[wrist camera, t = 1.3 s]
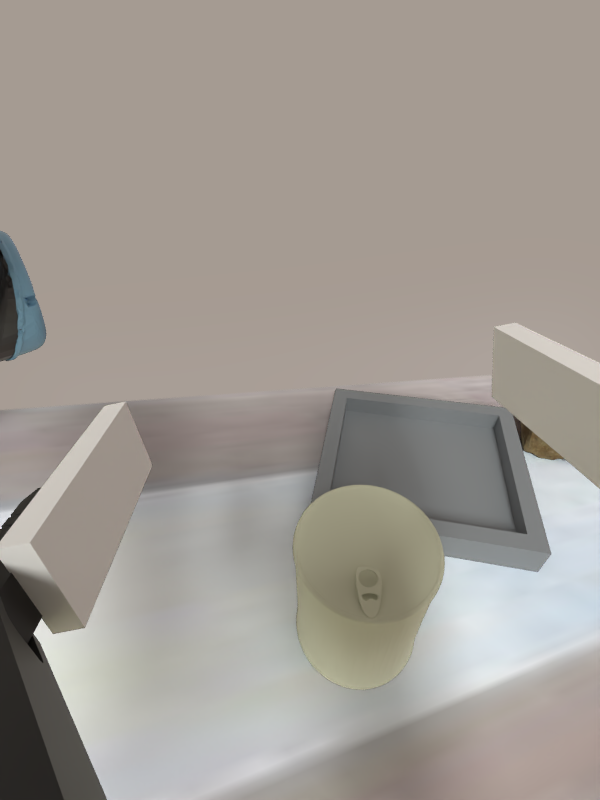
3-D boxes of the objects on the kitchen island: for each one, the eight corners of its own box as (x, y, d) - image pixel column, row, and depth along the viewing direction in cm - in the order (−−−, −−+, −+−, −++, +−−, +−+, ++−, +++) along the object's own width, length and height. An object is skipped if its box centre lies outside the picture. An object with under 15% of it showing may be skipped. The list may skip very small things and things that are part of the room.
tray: (308, 532, 38) (308, 513, 37) (335, 407, 52) (335, 388, 50) (537, 571, 35) (551, 553, 33) (503, 427, 49) (510, 408, 47)
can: (291, 685, 29) (284, 615, 22) (300, 562, 36) (296, 476, 28) (423, 695, 29) (464, 626, 21) (406, 568, 36) (432, 481, 28)
